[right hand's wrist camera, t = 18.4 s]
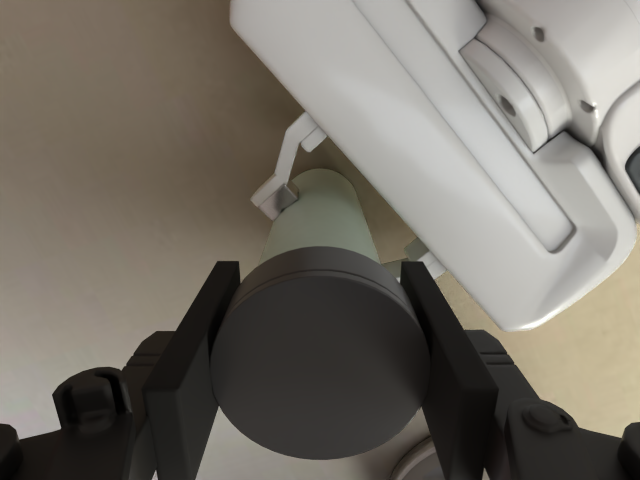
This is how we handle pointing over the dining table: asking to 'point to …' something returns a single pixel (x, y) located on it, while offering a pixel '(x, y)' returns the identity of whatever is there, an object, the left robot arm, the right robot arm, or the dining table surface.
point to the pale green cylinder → (321, 217)
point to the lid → (320, 355)
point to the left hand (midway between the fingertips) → (307, 253)
